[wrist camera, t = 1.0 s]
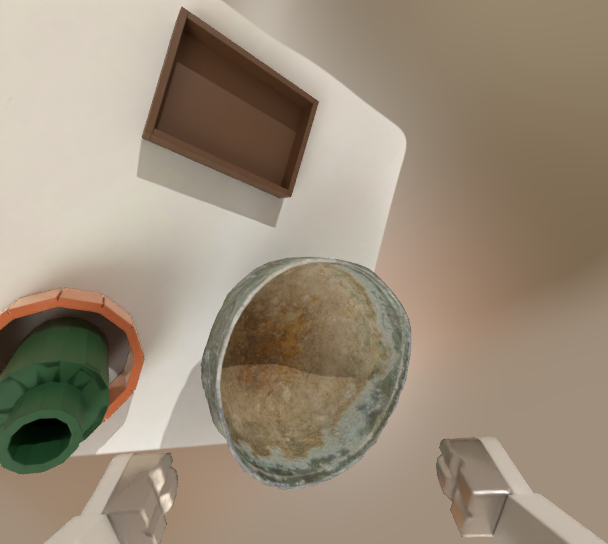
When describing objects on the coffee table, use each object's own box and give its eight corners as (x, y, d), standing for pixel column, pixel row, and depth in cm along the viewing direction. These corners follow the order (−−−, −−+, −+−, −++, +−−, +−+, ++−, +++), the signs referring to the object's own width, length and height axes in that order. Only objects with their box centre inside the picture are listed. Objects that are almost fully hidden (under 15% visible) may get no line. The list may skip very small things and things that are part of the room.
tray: (141, 137, 29) (144, 131, 27) (175, 22, 29) (181, 5, 27) (280, 198, 37) (291, 197, 35) (306, 108, 38) (319, 101, 35)
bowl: (206, 223, 33) (267, 226, 21) (340, 270, 44) (434, 291, 31) (149, 402, 33) (177, 517, 20) (298, 406, 44) (377, 483, 31)
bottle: (-3, 361, 26) (-85, 471, 15) (63, 303, 28) (36, 362, 16) (67, 399, 29) (44, 515, 18) (123, 345, 31) (135, 419, 20)
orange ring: (-69, 369, 24) (-97, 394, 21) (62, 262, 27) (56, 268, 24) (69, 436, 29) (64, 464, 26) (164, 340, 33) (171, 354, 29)
